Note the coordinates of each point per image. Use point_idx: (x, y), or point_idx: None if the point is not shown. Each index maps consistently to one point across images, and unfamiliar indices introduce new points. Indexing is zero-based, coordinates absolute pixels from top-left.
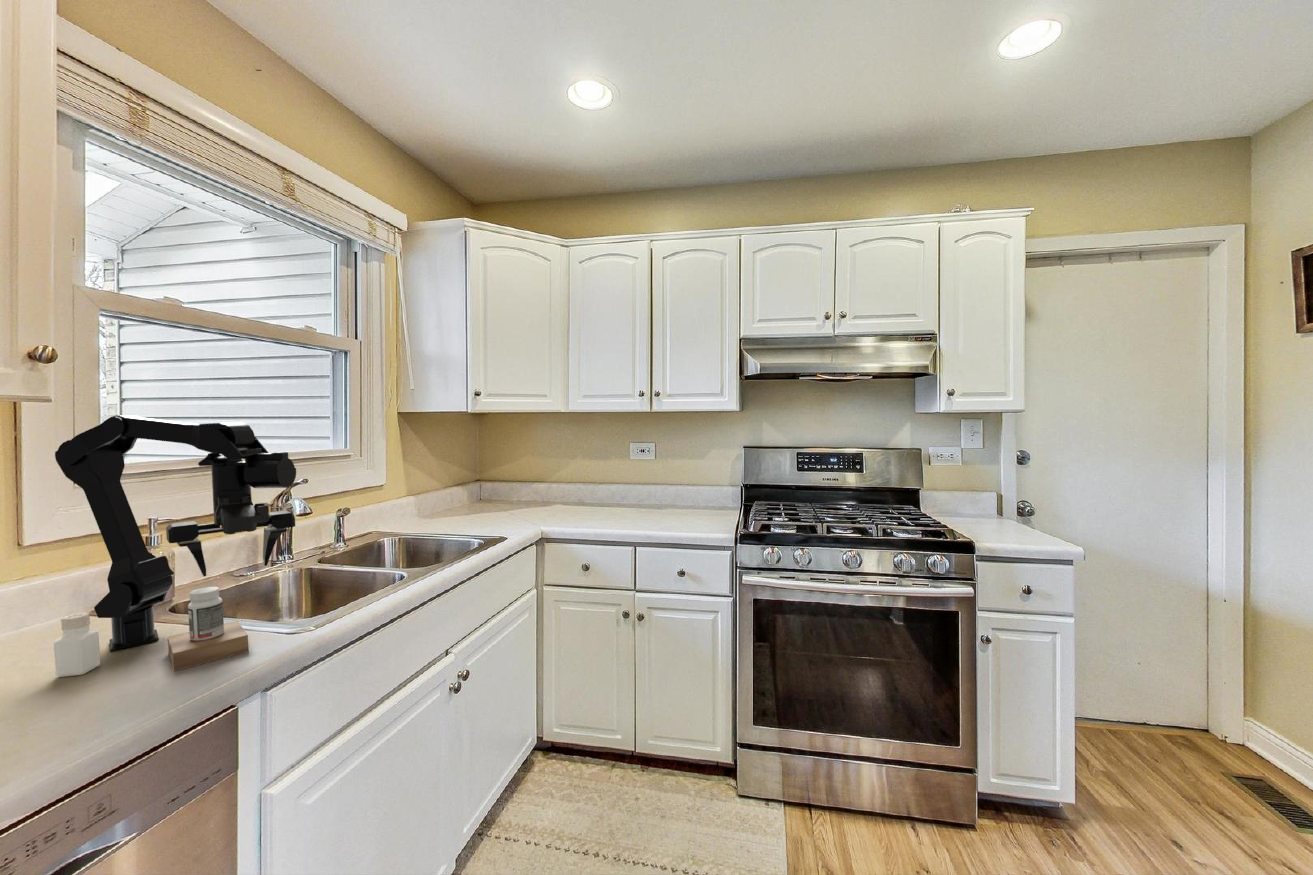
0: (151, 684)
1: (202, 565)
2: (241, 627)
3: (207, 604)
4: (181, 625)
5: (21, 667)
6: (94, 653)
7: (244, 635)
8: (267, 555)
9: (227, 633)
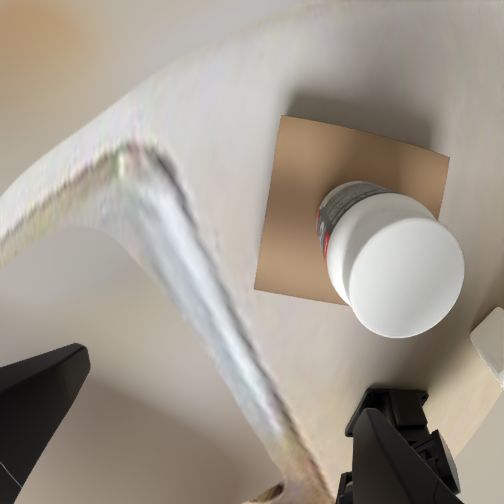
0: (467, 124)
1: (401, 452)
2: (268, 212)
3: (405, 198)
4: (303, 433)
5: (485, 408)
6: (492, 338)
7: (288, 120)
8: (37, 365)
9: (314, 191)
